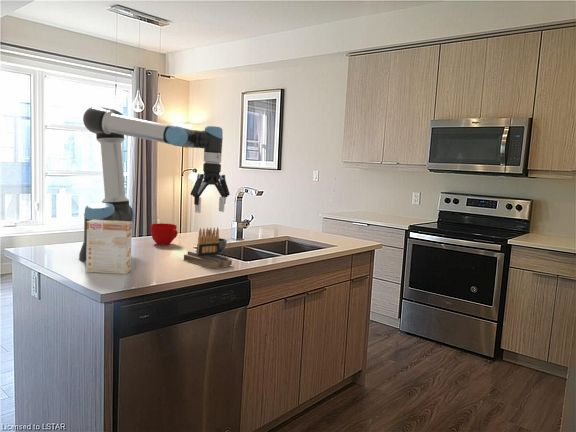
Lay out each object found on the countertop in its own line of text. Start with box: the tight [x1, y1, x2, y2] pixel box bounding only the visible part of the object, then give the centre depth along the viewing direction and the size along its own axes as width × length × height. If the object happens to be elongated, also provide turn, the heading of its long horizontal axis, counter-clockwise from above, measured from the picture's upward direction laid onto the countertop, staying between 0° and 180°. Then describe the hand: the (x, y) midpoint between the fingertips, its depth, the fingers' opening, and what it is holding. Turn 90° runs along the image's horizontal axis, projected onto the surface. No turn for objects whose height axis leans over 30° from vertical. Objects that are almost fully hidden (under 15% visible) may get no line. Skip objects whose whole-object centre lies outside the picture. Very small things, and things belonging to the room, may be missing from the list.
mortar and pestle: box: [208, 229, 228, 256], centre depth 225 cm, size 11×9×12 cm
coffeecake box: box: [85, 219, 133, 275], centre depth 177 cm, size 15×7×20 cm, turn 92°
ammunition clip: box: [196, 226, 220, 256], centre depth 203 cm, size 11×2×12 cm, turn 133°
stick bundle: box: [183, 250, 233, 270], centre depth 204 cm, size 10×20×4 cm, turn 51°
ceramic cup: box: [150, 222, 178, 246], centre depth 240 cm, size 13×17×10 cm
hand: (209, 212), depth 202 cm, fingers open, 13 cm apart
